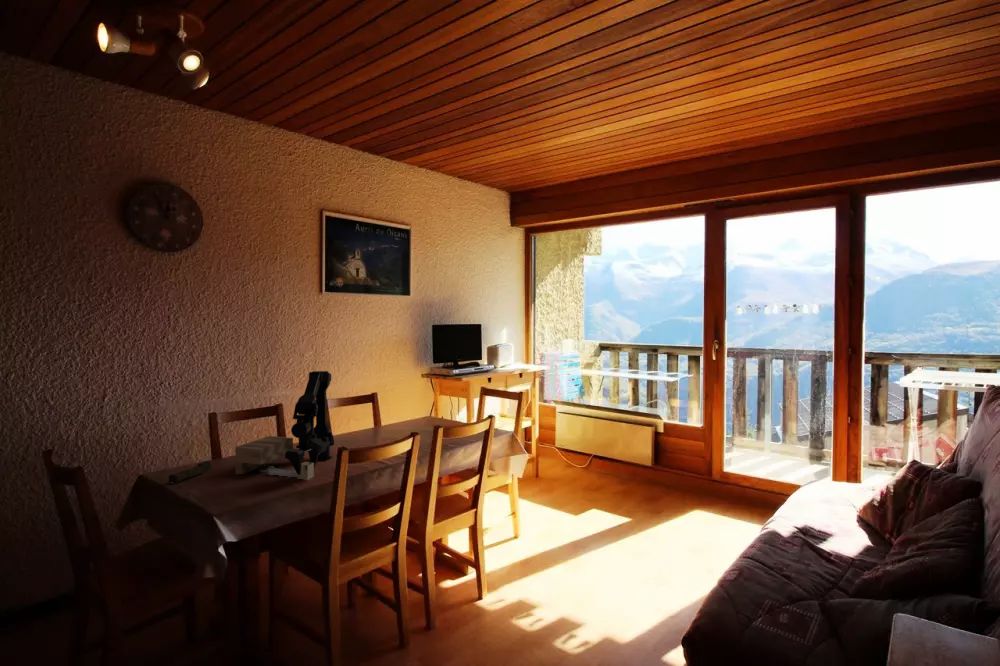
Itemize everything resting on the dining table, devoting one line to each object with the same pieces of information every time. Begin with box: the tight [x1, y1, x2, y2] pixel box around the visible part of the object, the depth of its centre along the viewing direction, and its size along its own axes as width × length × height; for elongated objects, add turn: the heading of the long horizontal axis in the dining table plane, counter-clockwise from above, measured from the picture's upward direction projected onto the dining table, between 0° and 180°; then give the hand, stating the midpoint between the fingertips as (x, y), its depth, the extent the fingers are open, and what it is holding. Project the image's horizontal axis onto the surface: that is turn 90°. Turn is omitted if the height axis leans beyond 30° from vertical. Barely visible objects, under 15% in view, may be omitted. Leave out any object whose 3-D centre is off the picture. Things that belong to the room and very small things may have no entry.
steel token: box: [257, 464, 275, 473], centre depth 222 cm, size 6×6×2 cm
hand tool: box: [168, 460, 213, 483], centre depth 212 cm, size 19×4×5 cm, turn 162°
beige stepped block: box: [234, 435, 294, 475], centre depth 224 cm, size 20×12×11 cm, turn 164°
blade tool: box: [268, 461, 315, 481], centre depth 214 cm, size 4×19×6 cm, turn 74°
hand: (306, 471), depth 212 cm, fingers open, 9 cm apart
